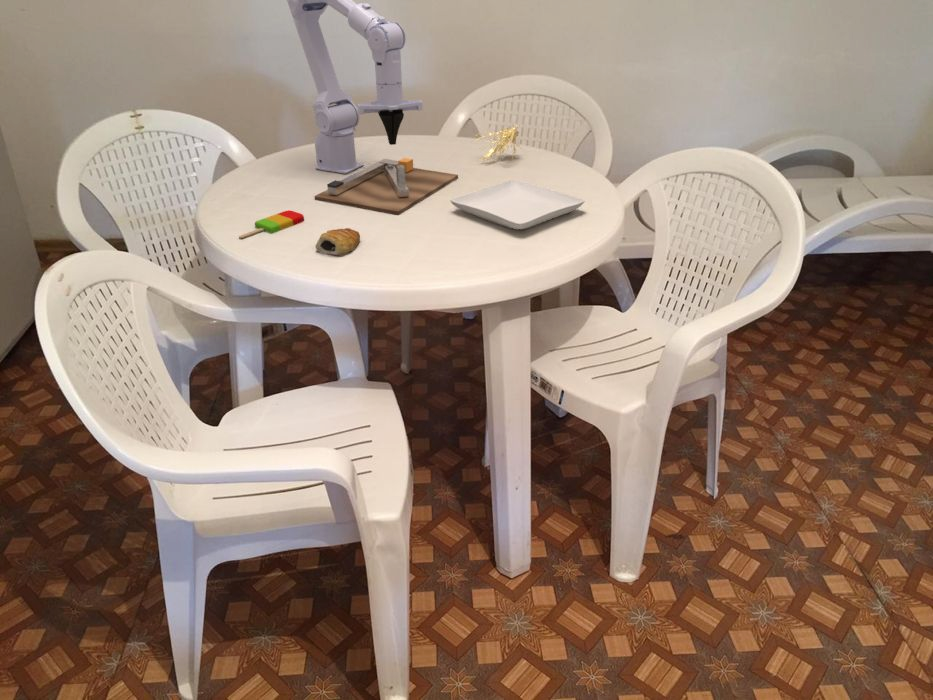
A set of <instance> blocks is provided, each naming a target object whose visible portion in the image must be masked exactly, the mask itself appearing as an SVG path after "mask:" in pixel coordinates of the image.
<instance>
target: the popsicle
mask: <svg viewBox="0 0 933 700" xmlns="http://www.w3.org/2000/svg"><path fill="white" fill-rule="evenodd" d="M304 221H305V216H304V214H303V213H301V212H297V211H294V210H284V211H281V212H279V213H276V214H273V215H271V216H268V217H264V218H262V219H259V220H256V221H255V222H254V227H255V228H256V229H255V230H251V231H249V232H247V233H244V234H240V235H239V236H238V238H239V239H244V238H247V237H250V236H252V235H256V234H258V233H260V232H267V233H269V234H275V233H277V232H280V231H282V230H285V229H287V228H290V227H293V226H296V225H298V224H302V223H303V222H304Z"/></svg>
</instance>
